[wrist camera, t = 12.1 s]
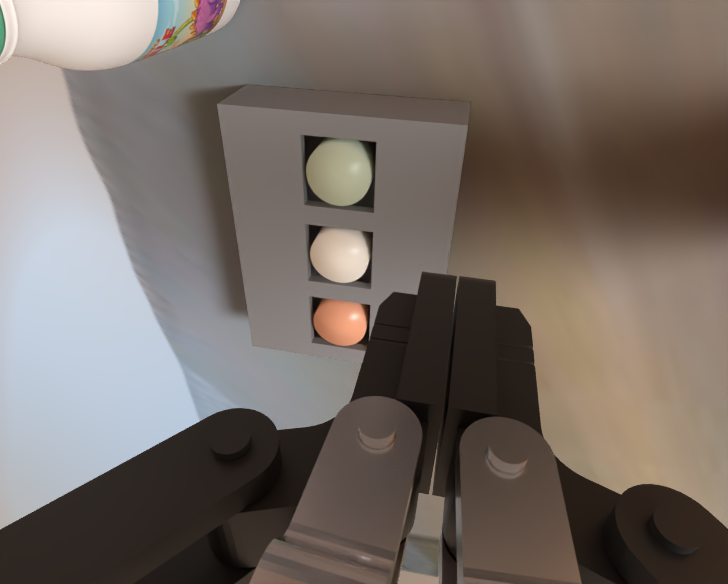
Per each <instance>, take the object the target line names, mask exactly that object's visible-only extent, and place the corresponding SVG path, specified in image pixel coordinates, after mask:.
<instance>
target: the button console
mask: <svg viewBox="0 0 728 584" xmlns="http://www.w3.org/2000/svg"><path fill="white" fill-rule="evenodd" d="M470 106H471V102H462V101H449V100H436V99H424V98H411V97H399V96H386V95H373V94H361V93H348V92H335V91H323V90H310V89H298V88H285V87H272V86H260V85H245V86H244V87H242V88H241V89H239V90H238V91H236V92H234V93H233V94H231V95H230V96H228V97H227V98H225V99H224V100H222V101H221V102H219V103H217V108H218V115H219V122H220V129H221V135H222V142H223V149H224V156H225V162H226V169H227V176H228V183H229V189H230V196H231V203H232V210H233V216H234V223H235V230H236V237H237V243H238V250H239V257H240V264H241V270H242V277H243V284H244V291H245V297H246V304H247V311H248V318H249V324H250V331H251V338H252V345H253V346H256V347H263V348H269V349H275V350H281V351H287V352H294V353H300V354H306V355H312V356H318V357H325V358H331V359H337V360H343V361H349V362H356V363H362V362H363V359H364V355H365V352H366V349H367V345H368V342H369V340H370V335H371V332H372V328H373V326H374V322H375V318H376V315H377V311H378V308H379V305H380V304H381V303H382V302H383V301H384V300H385V299H386V298H387V297H389V296H390V295H391V294H392V293H393V292H400V293H407V294H415V295H417V293H418V288H419V283H420V278H421V274H422V271H423V272H430V273H438V274H446V275H447V269H448V262H449V255H450V248H451V241H452V234H453V227H454V220H455V213H456V206H457V200H458V193H459V186H460V179H461V172H462V165H463V158H464V151H465V144H466V138H467V131H468V123H469V115H470ZM325 137H330V138H341V139H351V140H362V141H373V142H376V169H375V176H374V178H373V180H372V182H371V184H370V187H369V189H368V191H367V193H366V194H365V195H364V197H363V198H362V199H361V200H359V201H358V202H356V203H354V204H351V205H347V206H336V205H332V204H329V203H327V202H325V201H323V200H322V199H320V198H319V197H318V196H317V195H316V194H315V193H314V192H313V190H312V189H311V187H310V185H309V183H308V180H307V176H306V166H307V162H308V159H309V157H310V156H311V154H312V153H313V152H314V150H315V149H316V148H317V147H318V145H319V144H320V143H321V142H322V140H323V139H324V138H325ZM322 226H326V227H334V228H342V229H350V230H359V231H367V232H373V249H372V255H371V258H370V260H369V263H368V266H367V269H366V271H365V273H364V274H363V275H362V276H361V277H360V278H359V279H360V280H362V281H364V282H358V281H352V282H348V283H339V282H334V281H331V280H329V279H327V278H325V277H323V276H322V275H321V274H320V273H319V272H318V271H317V270H316V269H315V267H314V266H313V264H312V261H311V258H310V250H311V246H312V244H313V242H314V240H315V239H316V237H317V235H318V233H319V232H320V230H321V228H322ZM322 298H326V299H333V300H340V301H347V302H354V303H361V304H368V305H370V319H369V322H368V325H367V328H366V332H365V335H364V337H363V338H362V339H361V340H360V341H359V342H358V343H356V344H353V345H348V346H341V345H336V344H333V343H330V342H328V341H326V340H325V339H324V338H322V337H321V336H320V335H319V334H318V332H317V331H316V329H315V327H314V322H313V319H314V315H315V313H316V311H317V308H318V306H319V304H320V302H321V300H322Z"/></svg>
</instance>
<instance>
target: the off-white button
mask: <svg viewBox="0 0 728 584" xmlns="http://www.w3.org/2000/svg"><path fill="white" fill-rule="evenodd" d="M372 249H373V232H367V231H359V230H350V229H342V228H334V227H326V226H322V228H321V230H320V232H319V233H318V235H317V237H316V239H315V240H314V242H313V244H312V246H311V250H310V258H311V261H312V264H313V266H314V267H315V269H316V270H317V271H318V272H319V273H320V274H321V275H322V276H323V277H325V278H327V279H329V280H331V281H334V282H339V283H348V282H352V281H355V280H357V279H359V278H360V277H361V276H362V275H363V274H364V273H365V271H366V269H367V266H368V263H369V260H370V258H371V255H372Z"/></svg>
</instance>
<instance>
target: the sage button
mask: <svg viewBox="0 0 728 584" xmlns="http://www.w3.org/2000/svg"><path fill="white" fill-rule="evenodd" d="M375 169H376V142H373V141H362V140H351V139H341V138H330V137H325V138H324V139H323V140H322V142H321V143H320V144H319V145H318V147H317V148H316V149H315V150H314V152H313V153H312V154H311V156H310V157H309V159H308V162H307V166H306V176H307V180H308V183H309V185H310V187H311V189H312V190H313V192H314V193H315V194H316V195H317V196H318V197H319V198H320V199H322V200H323V201H325V202H327V203H329V204H332V205H336V206H347V205H351V204H354V203H356V202H358V201H359V200H361V199H362V198H363V197H364V195H365V194H366V193H367V191H368V189H369V187H370V184H371V182H372V180H373V178H374V176H375Z"/></svg>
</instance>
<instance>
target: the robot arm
mask: <svg viewBox="0 0 728 584" xmlns="http://www.w3.org/2000/svg"><path fill="white" fill-rule="evenodd" d="M456 279H457V276H453V275H446V274H438V273H430V272H423V271H422V274H421V278H420V283H419V288H418V293H417V295H415V294H407V293H400V292H393V293H392V294H391V295H390V296H389V297H387V298H386V299H385V300H384V301H383V302H382V303H381V304H380V305H379V308H378V311H377V315H376V318H375V322H374V326H373V328H372V332H371V335H370V340H369V342H368V345H367V349H366V352H365V355H364V359H363V362H362V365H361V369H360V372H359V376H358V379H357V382H356V386H355V389H354V393H353V396H352V398H351V401H350V402H349V403H348V404H347V405H345V406H344V407H343V408H342V409H341V410H340V411H339V412H338V413H337V415H336V417H334V418H333V419H331V420H329V421H327V422H325V423H322V424H319V425H316V426H311V427H304V428H294V429H284V430H277V429H276V426H275V425H274V423H273V422H272V421H271V420H270V419H269V418H268V417H267V416H265V415H264V414H262V413H260V412H258V411H255V410H251V409H244V408H235V409H228V410H224V411H221V412H217V413H215V414H213V415H211V416H209V417H207V418H205V419H203V420H202V421H200V422H198V423H196V424H194V425H192V426H191V427H189V428H187V429H185V430H183V431H181V432H179V433H178V434H176V435H174V436H172V437H170V438H168V439H166V440H165V441H163V442H161V443H159V444H157V445H155V446H154V447H152V448H150V449H148V450H146V451H144V452H143V453H141V454H139V455H137V456H135V457H133V458H131V459H130V460H128V461H126V462H124V463H122V464H120V465H119V466H117V467H115V468H113V469H111V470H109V471H108V472H106V473H104V474H102V475H100V476H98V477H97V478H95V479H93V480H91V481H89V482H87V483H85V484H84V485H82V486H80V487H78V488H76V489H74V490H73V491H71V492H69V493H67V494H65V495H64V496H62V497H60V498H58V499H56V500H54V501H52V502H50V503H49V504H47V505H45V506H43V507H41V508H40V509H38V510H36V511H34V512H32V513H30V514H28V515H26V516H25V517H23V518H21V519H19V520H17V521H15V522H13V523H12V524H10V525H8V526H6V527H4V528H2V529H1V530H0V584H398V581H399V576H400V571H401V567H402V562H403V558H404V553H405V548H406V544H407V539H408V534H409V532H410V531H411V529H412V527H413V524H414V520H415V514H416V507H417V501H418V494H419V493H424V494H429V489H430V483H431V477H432V472H433V466H434V460H435V454H436V449H437V455H436V465H435V474H434V484H433V494H432V495H436V496H441V497H445V501H444V514H443V523H442V528H441V532H440V537H439V584H728V529H727V528H726V527H725V526H724V525H723V524H722V523H721V522H720V521H719V520H717V519H716V518H715V517H714V516H713V515H712V514H711V513H710V512H709V511H708V510H706V509H705V508H704V507H703V506H701V505H700V504H699V503H698V502H696V501H695V500H693V499H692V498H690V497H688V496H686V495H685V494H683V493H681V492H679V491H676V490H674V489H671V488H668V487H664V486H661V485H654V484H642V485H637V486H633V487H631V488H629V489H627V490H626V491H625V492H623V493H622V495H621V494H618V493H616V492H614V491H612V490H610V489H608V488H606V487H603V486H601V485H599V484H597V483H595V482H593V481H590V480H588V479H586V478H584V477H582V476H580V475H579V474H577V473H575V472H574V471H572V470H571V469H569V468H568V467H567V466H565V465H564V464H563V463H562V462H561V461H560V460H559V459H558V458H557V457H556V456H555V455H554V453H553V451H552V449H551V447H550V445H549V444H548V443H547V441H546V440H545V439H544V437H543V434H542V430H541V423H540V413H539V403H538V392H537V382H536V372H535V366H534V352H533V350H532V348H533V342H532V332H531V326H530V325H529V323H528V322H527V320H526V319H525V317H524V316H523V314H522V313H521V311H520V310H519V309H517V308H510V307H503V306H496V282H495V281H493V280H485V279H477V278H470V277H462V276H460V277H459V282H458V288H457V294H456V300H455V306H454V299H455V289H456ZM453 309H454V312H453ZM437 443H438V445H437Z"/></svg>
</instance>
